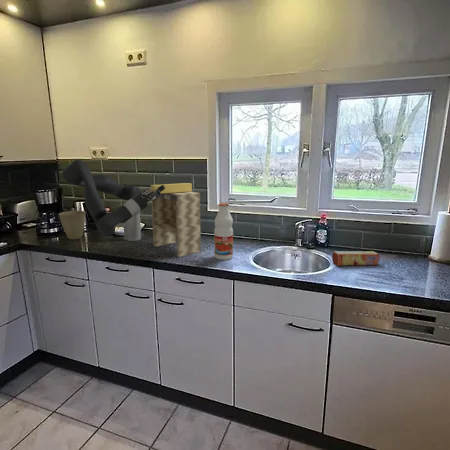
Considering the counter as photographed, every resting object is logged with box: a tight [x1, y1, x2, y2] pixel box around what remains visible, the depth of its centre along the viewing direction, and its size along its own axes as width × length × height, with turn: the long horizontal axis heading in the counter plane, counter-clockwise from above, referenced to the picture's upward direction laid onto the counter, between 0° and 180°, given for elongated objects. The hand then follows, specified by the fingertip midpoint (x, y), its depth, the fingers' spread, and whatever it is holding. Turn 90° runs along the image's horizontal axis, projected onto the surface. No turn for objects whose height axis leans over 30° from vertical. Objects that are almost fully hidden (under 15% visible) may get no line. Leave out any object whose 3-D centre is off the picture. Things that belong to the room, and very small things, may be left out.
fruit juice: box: [213, 202, 234, 261], centre depth 160 cm, size 9×9×28 cm
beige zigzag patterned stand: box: [151, 191, 202, 257], centre depth 173 cm, size 15×26×32 cm, turn 42°
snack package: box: [331, 250, 380, 267], centre depth 153 cm, size 21×7×7 cm, turn 95°
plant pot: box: [58, 210, 86, 240], centre depth 196 cm, size 15×15×16 cm
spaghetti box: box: [150, 182, 193, 193], centre depth 162 cm, size 22×4×4 cm, turn 132°
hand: (161, 186), depth 158 cm, fingers closed on spaghetti box, 4 cm apart
